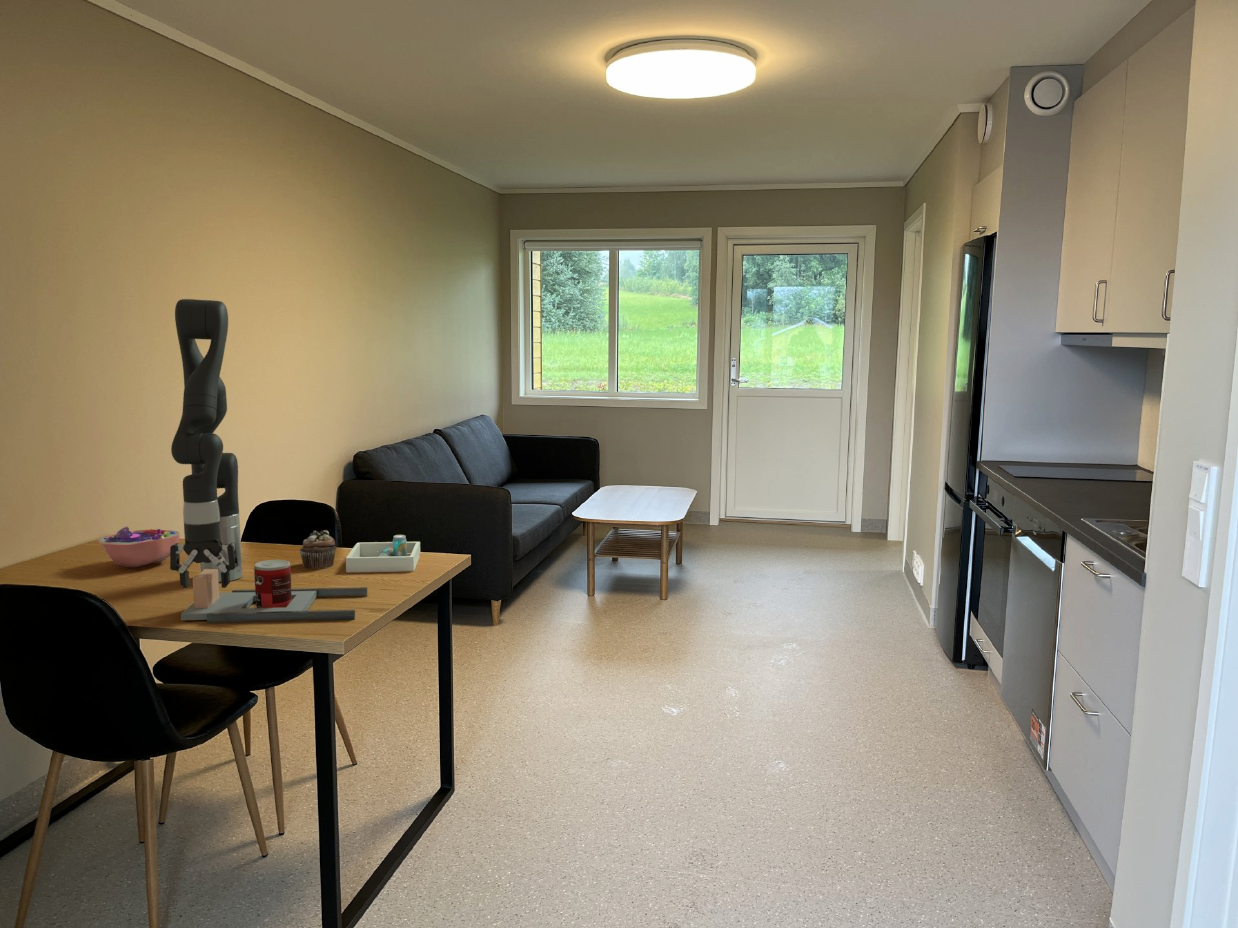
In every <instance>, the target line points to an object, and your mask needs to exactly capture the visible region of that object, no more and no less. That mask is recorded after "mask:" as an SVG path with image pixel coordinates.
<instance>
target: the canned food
mask: <svg viewBox="0 0 1238 928" xmlns="http://www.w3.org/2000/svg"><path fill="white" fill-rule="evenodd" d="M291 569H292V568H291V563H290V561H288V560H285V559H267V560H260V561H258V562H256V563H255V564H254V568H253V573H254V590H255V594H256V602H255V607H256V608H284V607H287V606H288V605H289V603H290V602H291V601H292V593H291V589H292V573H291Z"/></svg>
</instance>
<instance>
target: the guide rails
mask: <svg viewBox="0 0 1238 928" xmlns="http://www.w3.org/2000/svg"><path fill="white" fill-rule="evenodd" d="M368 590H369V589H368V586H365V587H363V586H362V587H361V586H360V587H355V586H354V587H315V588H314V587H313V588H311V587H310V588H309V587H307V588H291V591H316V593H317V597H316V598H336V597H337V598H338V597H341V598H343V597H346V598H347V597H368V595H369V593H368ZM235 592H255V589H233V590H231V593H235ZM355 619H356V609H331V610H330V609H325V610H323V609H322V610H320V609H319V610H307V611H275V612H234V613H208V614H207V620H206V623H207V624H223V623H224V624H225V623H229V624H230V623H262V622H263V623H265V622H268V623H271V622H299V621H301V622H302V621H303V622H305V621H340V620H341V621H345V620H346V621H348V620H355Z"/></svg>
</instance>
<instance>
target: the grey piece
mask: <svg viewBox="0 0 1238 928" xmlns="http://www.w3.org/2000/svg"><path fill="white" fill-rule="evenodd" d="M219 584H220V582H219V580H218V569H204V570H203V571H202V572H201V571H200V573H198V574H197V575H195V576H194V577H193V578H192V589H193V590H192V591H193V602H192V603H191V605H190V606H189V607H187V608H186V609H185V610H184V611H182V612H181V613H180V620H181V621H205V620H206V621H207V614H208V613H234V612H275V611H308V609H309V608H310V607H311V605H312V604H313V603H314V601H315V599H316V598H318V597H317V593H316V591H291V593H292V601H291V602H290V603H289V605H288V606H287V607H284V608H255V607H251V608H250V606H251V605H252V604H254V602H255V603H256V594H255V592H235V593H232V592H220V585H219Z"/></svg>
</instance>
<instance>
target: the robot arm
mask: <svg viewBox="0 0 1238 928" xmlns="http://www.w3.org/2000/svg"><path fill="white" fill-rule="evenodd" d="M174 322H175V328H176V334H177V338H178V339H177V341H178V345H179V350H180V355H181V363H182V371H183V384H184V385H183V387H184V389H183V395H182V396H183V398H182V399H183V400H182V412H181V413H182V415H181V417H180V421H179V424H178V428H177V430H176V432H175V435H174V437H173V440H172V441H171V442H172V443H171V447H170V448H171V449H170V450H171V451H170V452H171V456H172V458H173V460H174V461H175V462H176V463H177V464H180V465H191V468H190V469H191V474H187V475H186V476H184V477H183V479H182V493H183V495H182V497H183V505H182V506H183V508H182V516H183V518H182V519H183V531H184V532H183V534H184V544H182V543H181V544H180V543H175V544H173V545H172V546H171V547H170V557H169V568H170V571H176V572H178V574H179V585H180V586H181V587H182V588H183V589H188V588H190V585H191V583H190V571H189V570H188V569H189V568H190V567H191V566H192V564H193V563H196V564H200V572H202V571H203V570H204V569H218V580H219V583H221V588H223V589H226V588H227V587H228V585H230V583H231V581H235V580H238V579H240V578H242V577H243V563H242V562H243V561H242V543H241V542H242V541H241V540H242V539H241V523H240V506H239V505H240V503H239V464H238V463H239V462H238V459H237V456H236V454H234V453H233V452H223V451H224V443H223V439H221V437H220V436H219V435H218V434H216V433H215V431H216V430H217V428H218V427H219V426H220V424H221V423H222V421H223V420H224V418H225V417H226V414H227V412H228V402H227V389H226V384H225V383H224V381H223V380H222V378H221V377H220V375H221V370H222V366H223V360H224V356H225V355H224V354H225V348H226V343H227V337H228V329H229V313H228V308H227V306H226V304H225V303H224V302H223V301H219V300H212V299H211V300H210V299H209V300H208V299H192V298H182V299H179V300H178V301H177V302H176V304H175V308H174ZM196 340H210V343H209V348H208V350H207V352H206V354H205V356H203V355H202V352H201V351H200V349H199V346H198V344H197V342H196ZM218 489H224V492H223V493H222V494H220V495H219V496H218ZM183 551H184V552H185V554H186V555H187V557H186V559H185V560H184V562H183V563H182V564H180V561H181V560H180V559H181V558H180V557H181V556H180V554H182V552H183Z"/></svg>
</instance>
